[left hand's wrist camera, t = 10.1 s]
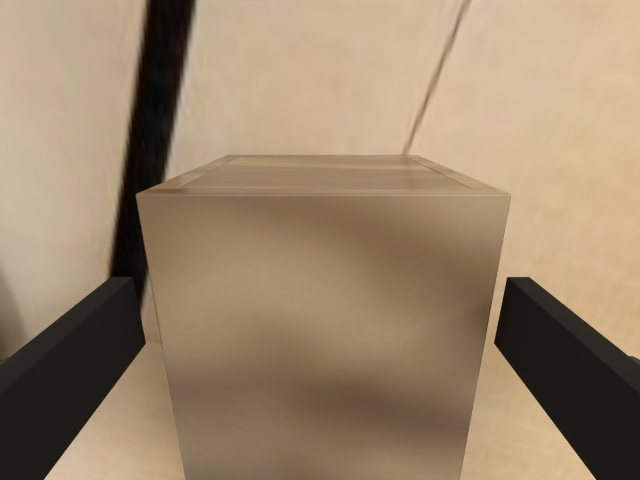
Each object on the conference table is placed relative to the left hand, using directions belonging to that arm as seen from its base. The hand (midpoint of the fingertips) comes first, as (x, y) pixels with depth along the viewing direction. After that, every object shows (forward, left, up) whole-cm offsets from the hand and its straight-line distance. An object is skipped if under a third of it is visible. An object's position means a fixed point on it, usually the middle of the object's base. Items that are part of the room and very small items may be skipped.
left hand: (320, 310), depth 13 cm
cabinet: (+3, -2, -10) cm, 11 cm away
